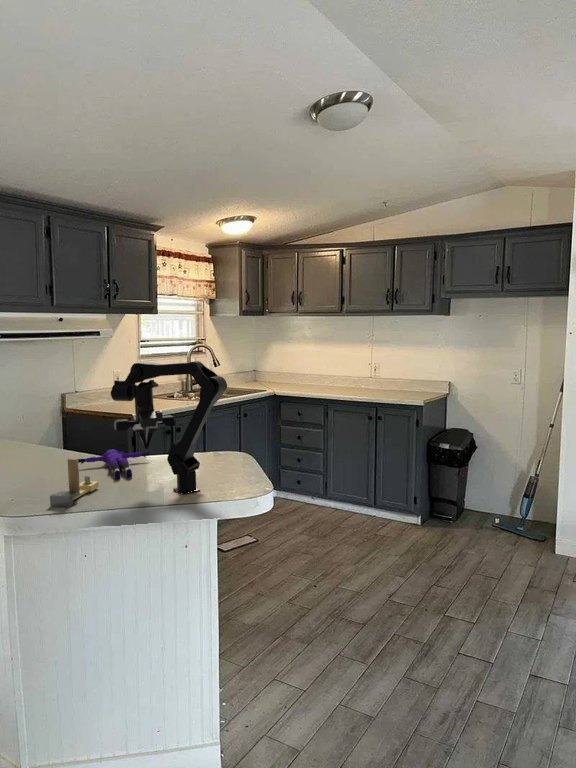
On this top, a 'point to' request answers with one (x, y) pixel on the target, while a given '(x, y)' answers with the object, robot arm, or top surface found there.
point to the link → (74, 479)
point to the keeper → (63, 498)
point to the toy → (116, 461)
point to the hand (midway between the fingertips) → (146, 449)
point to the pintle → (87, 481)
